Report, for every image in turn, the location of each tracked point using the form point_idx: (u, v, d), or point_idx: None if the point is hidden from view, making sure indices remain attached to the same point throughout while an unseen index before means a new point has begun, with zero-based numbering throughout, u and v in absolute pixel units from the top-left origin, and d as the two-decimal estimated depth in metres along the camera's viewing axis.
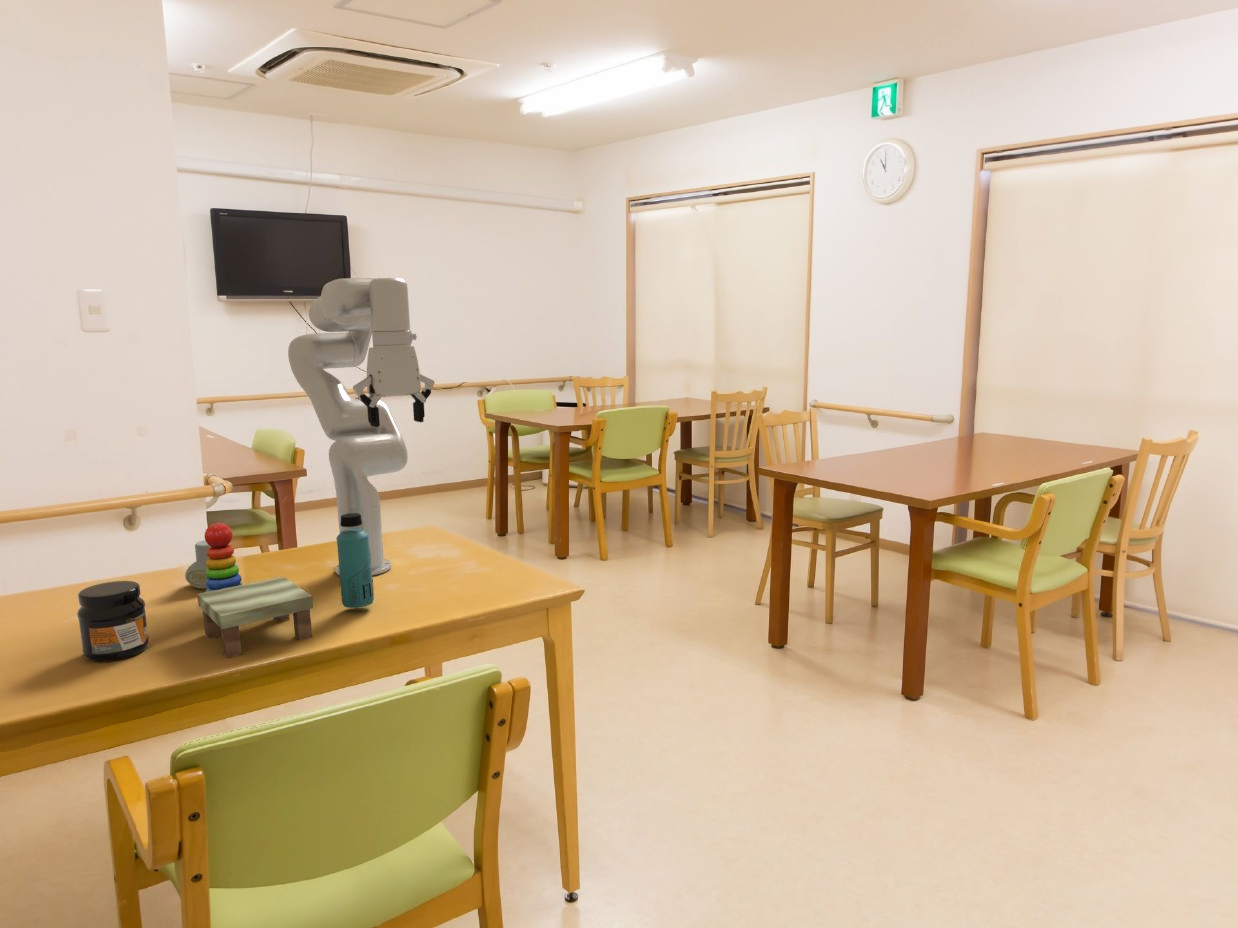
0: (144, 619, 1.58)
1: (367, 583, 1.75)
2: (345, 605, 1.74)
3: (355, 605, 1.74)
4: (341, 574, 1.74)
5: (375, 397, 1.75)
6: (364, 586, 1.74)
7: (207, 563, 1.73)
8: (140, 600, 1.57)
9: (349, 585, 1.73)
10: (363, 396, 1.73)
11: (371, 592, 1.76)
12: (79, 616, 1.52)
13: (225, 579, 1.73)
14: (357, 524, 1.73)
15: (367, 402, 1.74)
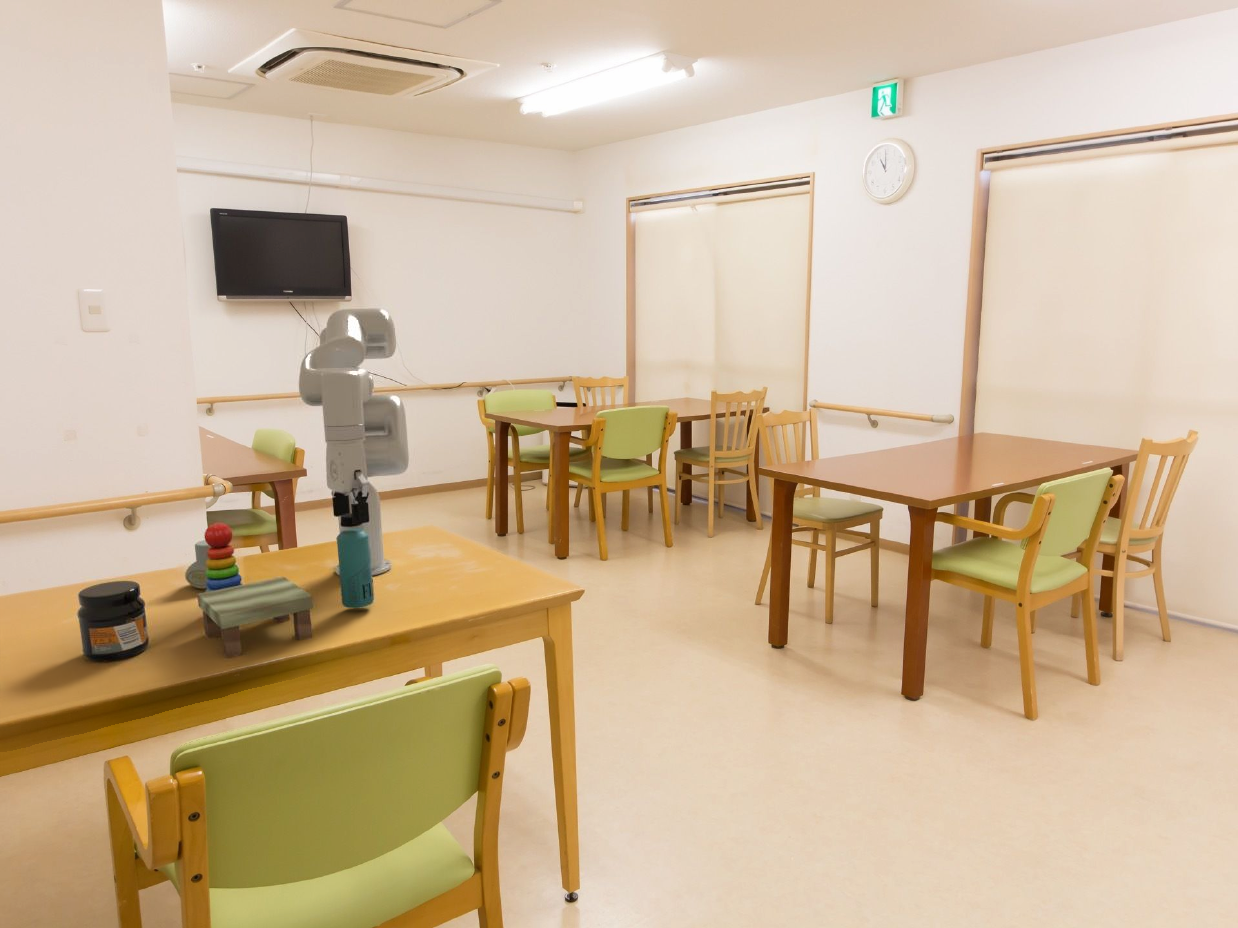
0: (144, 619, 1.58)
1: (367, 583, 1.75)
2: (345, 605, 1.74)
3: (355, 605, 1.74)
4: (341, 574, 1.74)
5: None
6: (364, 586, 1.74)
7: (207, 563, 1.73)
8: (140, 600, 1.57)
9: (349, 585, 1.73)
10: (368, 492, 1.67)
11: (371, 592, 1.76)
12: (79, 616, 1.52)
13: (225, 579, 1.73)
14: (357, 524, 1.73)
15: None
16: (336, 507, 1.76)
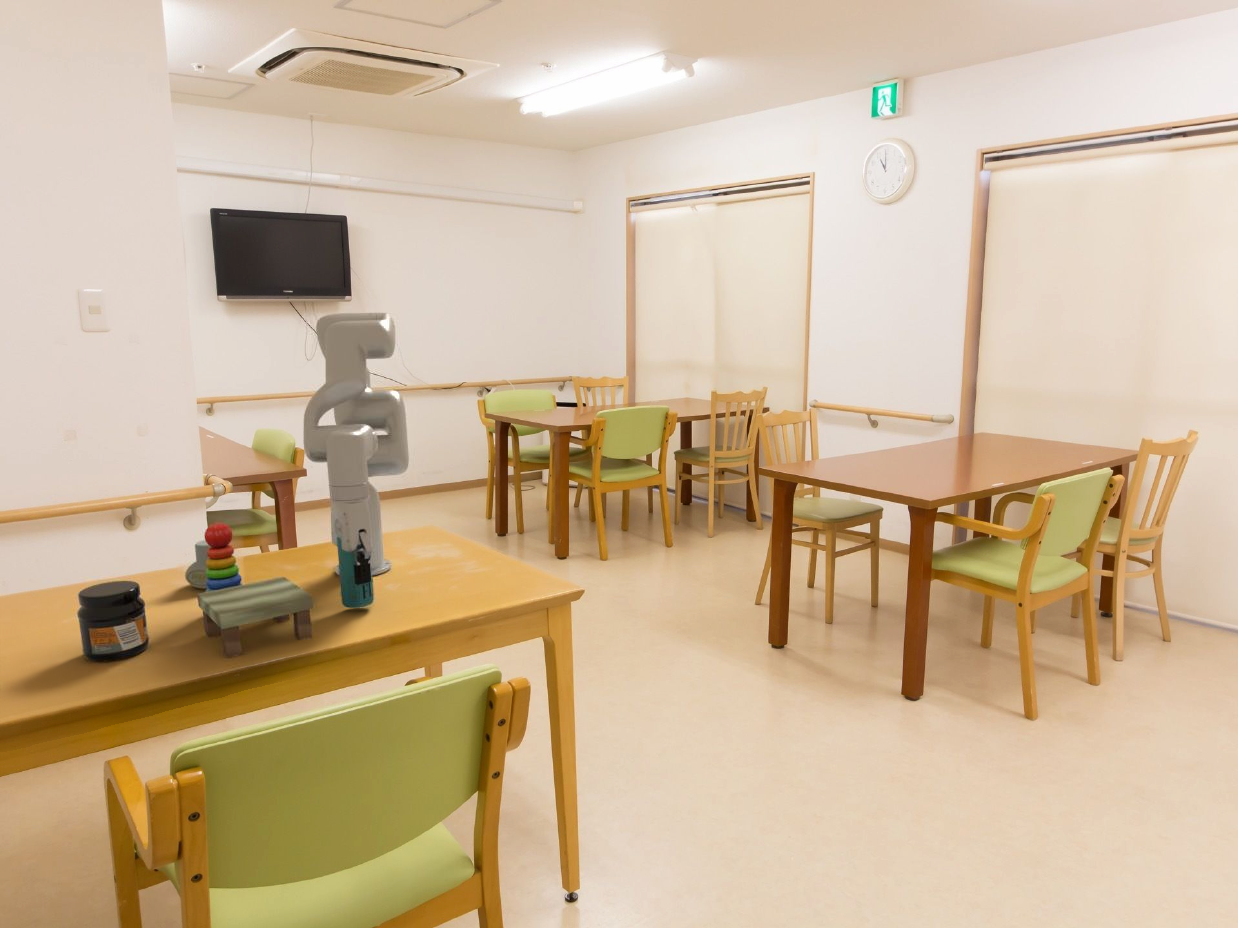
0: (144, 619, 1.58)
1: (367, 583, 1.75)
2: (345, 605, 1.74)
3: (355, 605, 1.74)
4: (341, 574, 1.74)
5: None
6: (364, 586, 1.74)
7: (207, 563, 1.73)
8: (140, 600, 1.57)
9: (349, 585, 1.73)
10: None
11: (371, 592, 1.76)
12: (79, 616, 1.52)
13: (225, 579, 1.73)
14: None
15: None
16: None
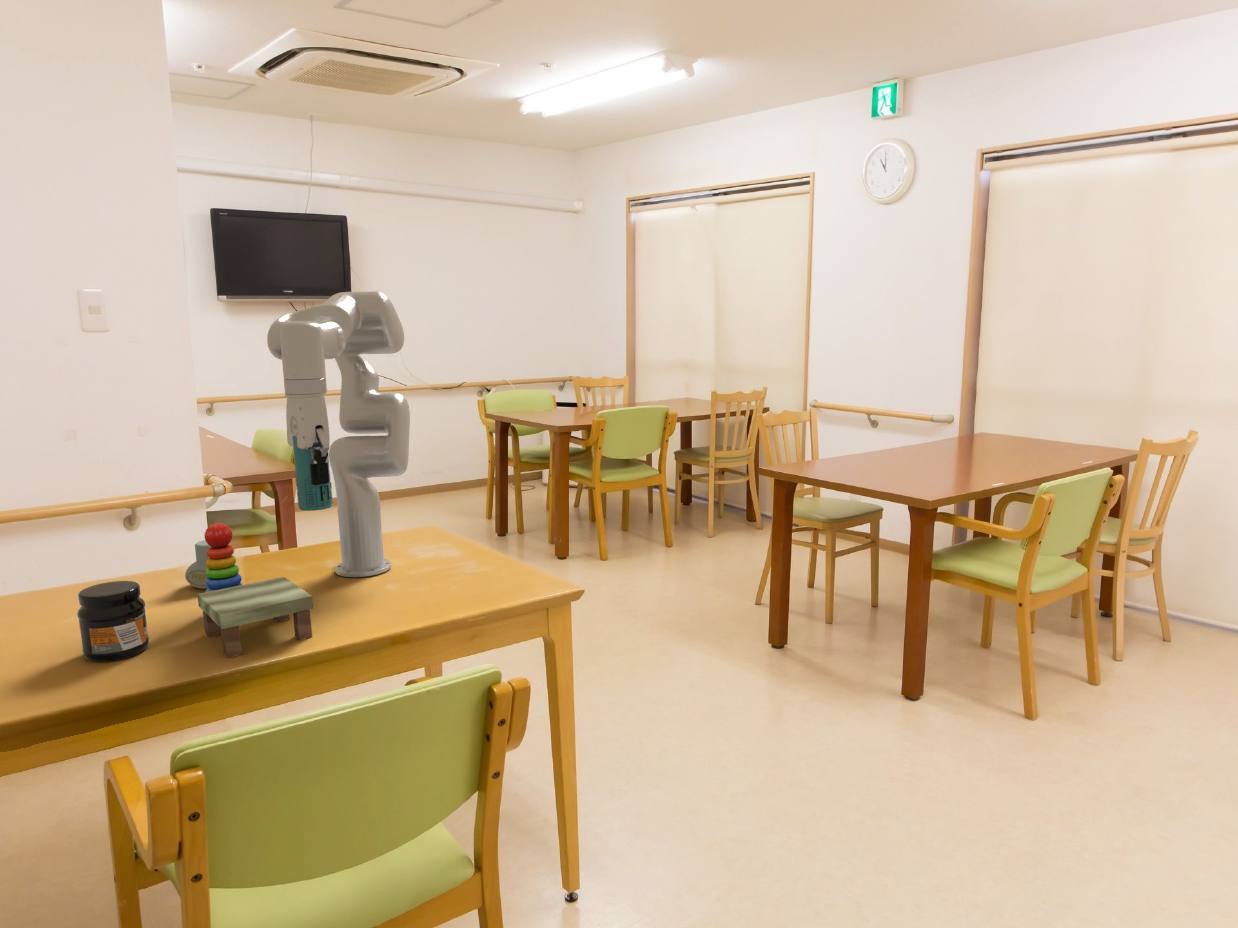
0: (144, 619, 1.58)
1: (325, 485, 1.66)
2: (302, 508, 1.66)
3: (312, 507, 1.65)
4: (297, 475, 1.65)
5: None
6: (322, 487, 1.65)
7: (207, 563, 1.73)
8: (140, 600, 1.57)
9: (306, 486, 1.65)
10: None
11: (329, 495, 1.67)
12: (79, 616, 1.52)
13: (225, 579, 1.73)
14: None
15: None
16: None
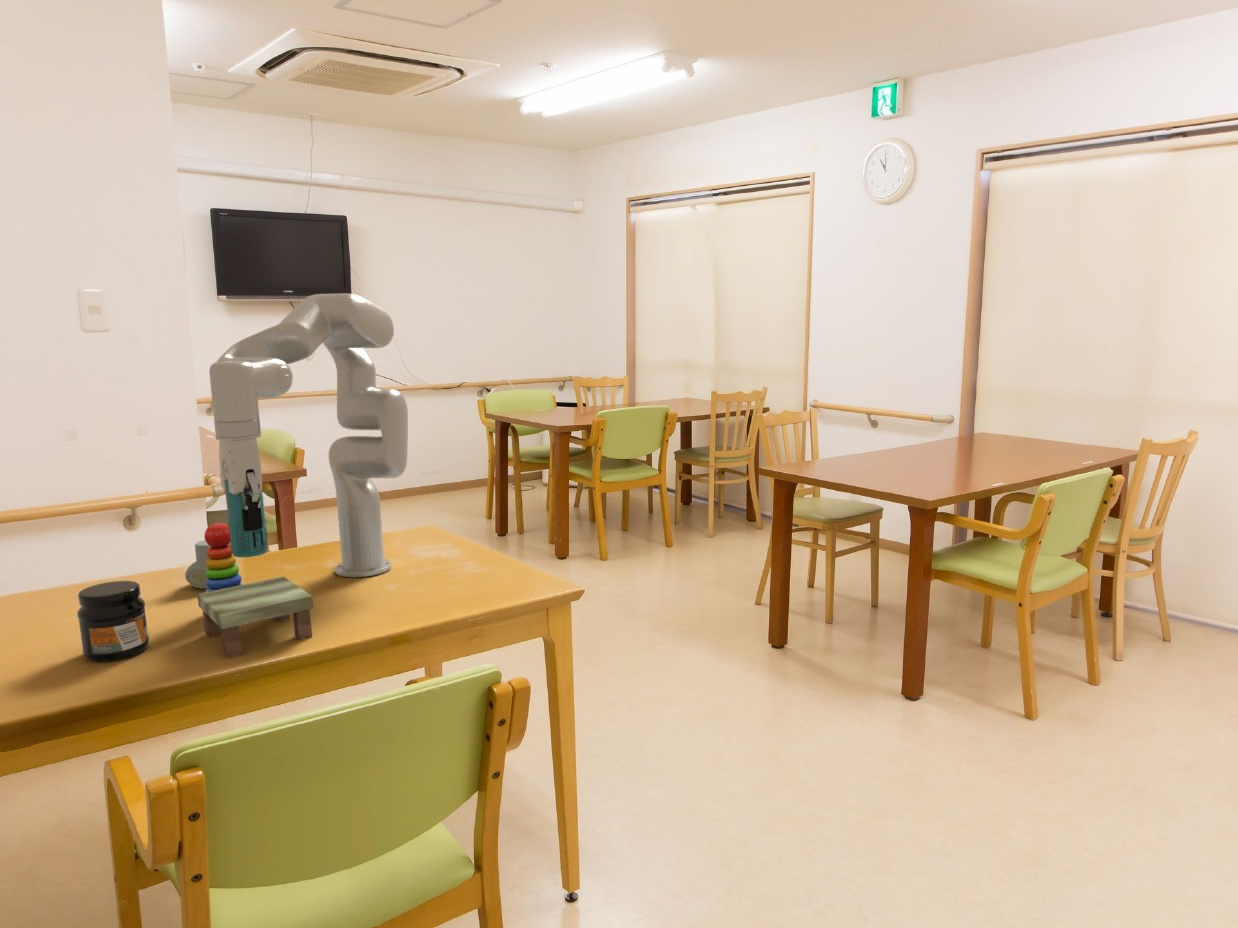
0: (144, 619, 1.58)
1: (258, 530, 1.59)
2: (234, 554, 1.59)
3: (245, 554, 1.58)
4: (229, 520, 1.58)
5: None
6: (255, 533, 1.58)
7: (207, 563, 1.73)
8: (140, 600, 1.57)
9: (237, 532, 1.57)
10: (259, 497, 1.55)
11: (264, 541, 1.60)
12: (79, 616, 1.52)
13: (225, 579, 1.73)
14: None
15: None
16: None
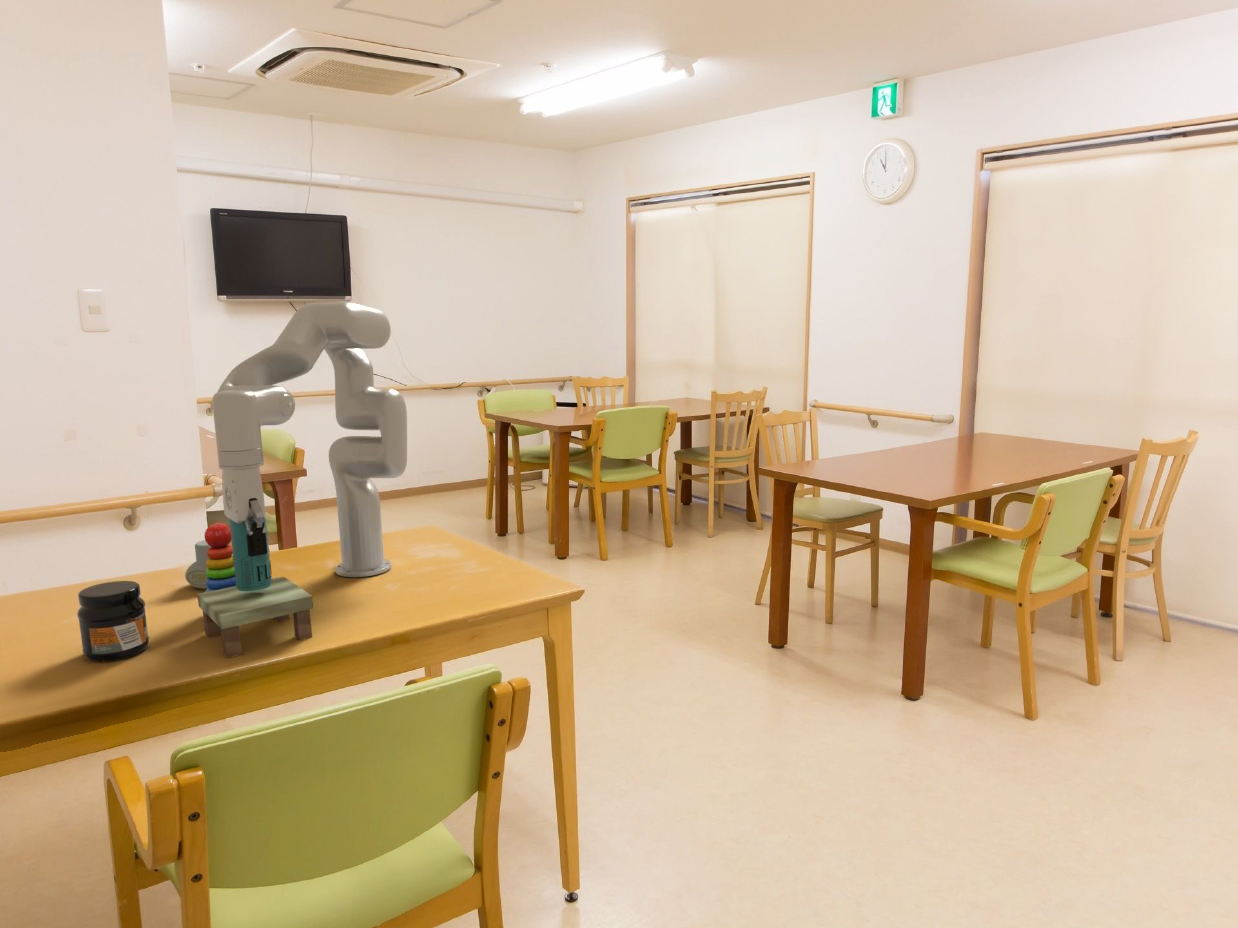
0: (144, 619, 1.58)
1: (263, 564, 1.61)
2: (238, 588, 1.60)
3: (249, 588, 1.60)
4: (234, 554, 1.60)
5: None
6: (259, 567, 1.60)
7: (207, 563, 1.73)
8: (140, 600, 1.57)
9: (242, 566, 1.59)
10: (264, 522, 1.55)
11: (268, 574, 1.62)
12: (79, 616, 1.52)
13: (225, 579, 1.73)
14: None
15: None
16: None
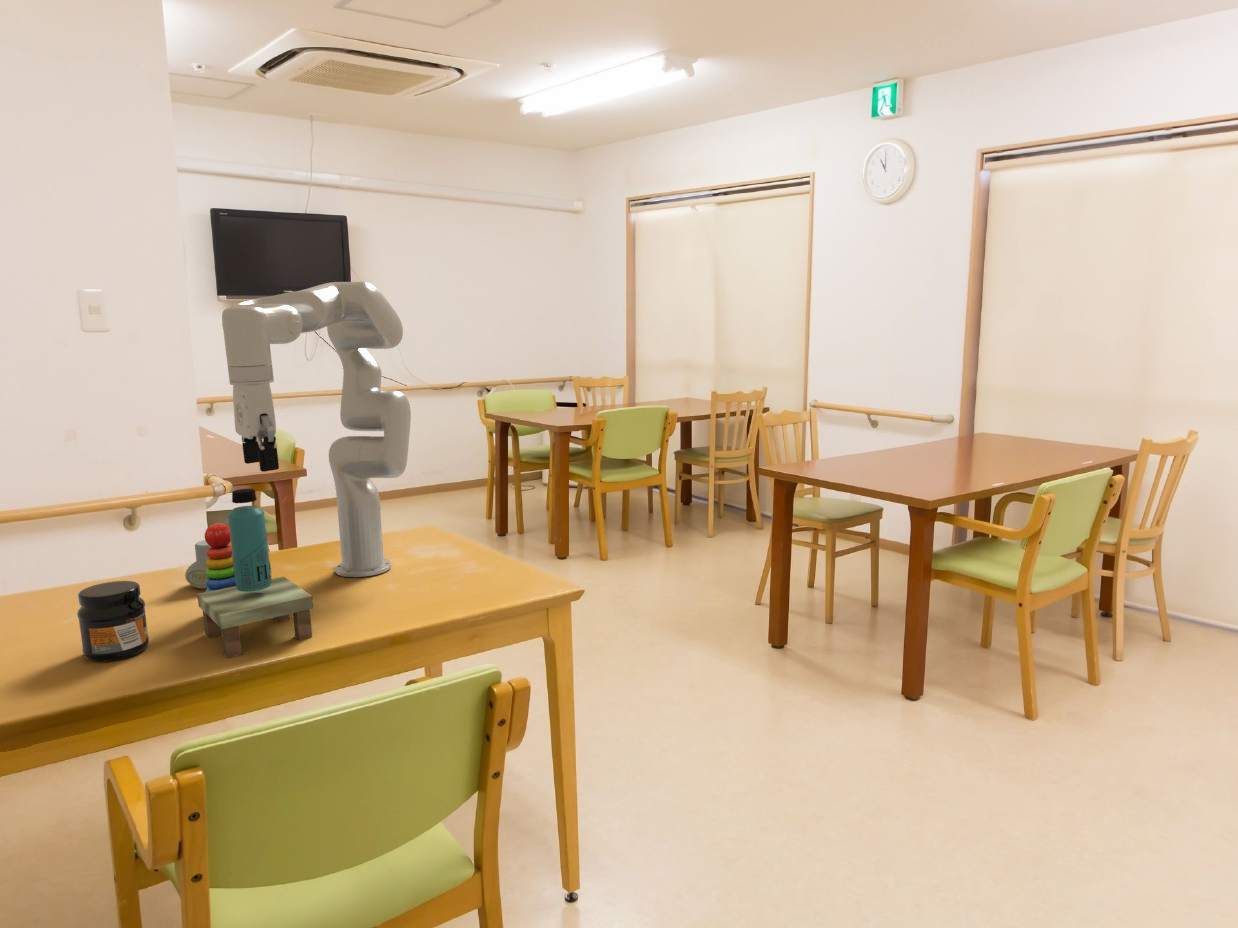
0: (144, 619, 1.58)
1: (262, 564, 1.61)
2: (238, 589, 1.60)
3: (249, 588, 1.60)
4: (233, 555, 1.60)
5: None
6: (259, 568, 1.60)
7: (207, 563, 1.73)
8: (140, 600, 1.57)
9: (241, 567, 1.59)
10: (275, 437, 1.57)
11: (267, 574, 1.62)
12: (79, 616, 1.52)
13: (225, 579, 1.73)
14: (250, 500, 1.59)
15: None
16: (246, 453, 1.65)
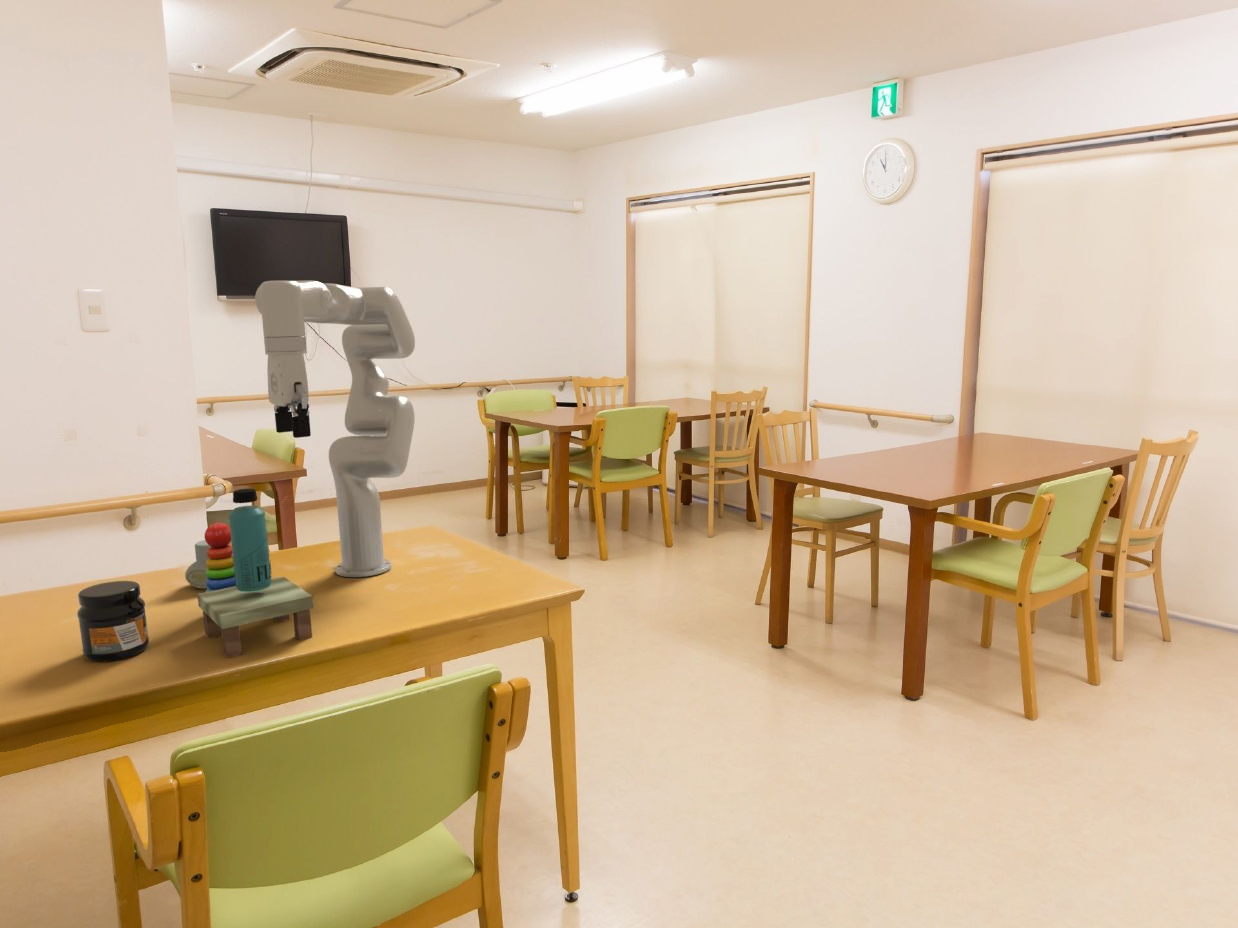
0: (144, 619, 1.58)
1: (262, 565, 1.61)
2: (238, 588, 1.60)
3: (249, 588, 1.60)
4: (234, 555, 1.60)
5: None
6: (259, 568, 1.60)
7: (207, 563, 1.73)
8: (140, 600, 1.57)
9: (242, 567, 1.59)
10: (308, 404, 1.64)
11: (268, 574, 1.62)
12: (79, 616, 1.52)
13: (225, 579, 1.73)
14: (251, 500, 1.59)
15: None
16: (279, 423, 1.73)
